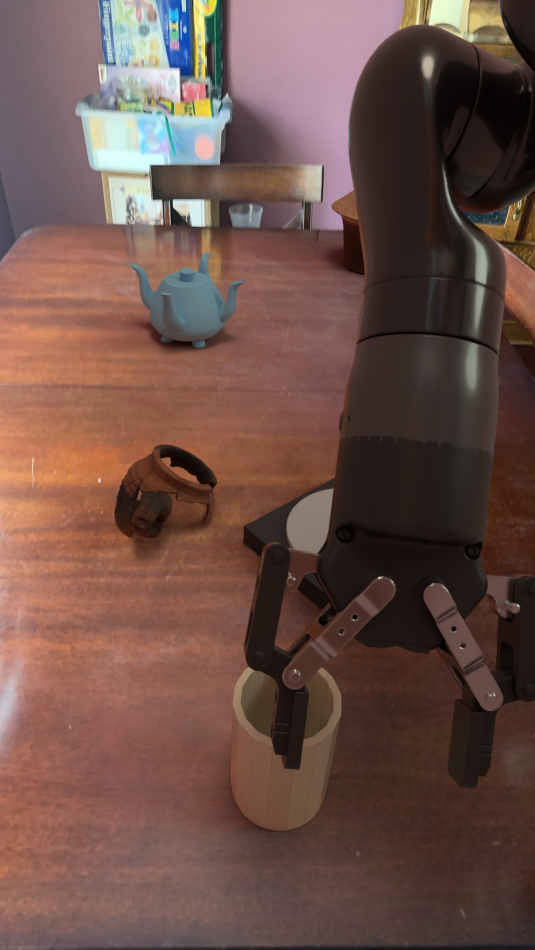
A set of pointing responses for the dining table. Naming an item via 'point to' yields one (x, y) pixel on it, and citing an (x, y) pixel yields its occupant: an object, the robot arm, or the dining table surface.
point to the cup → (262, 772)
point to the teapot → (187, 304)
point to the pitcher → (350, 232)
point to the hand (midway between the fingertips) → (376, 773)
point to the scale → (297, 531)
